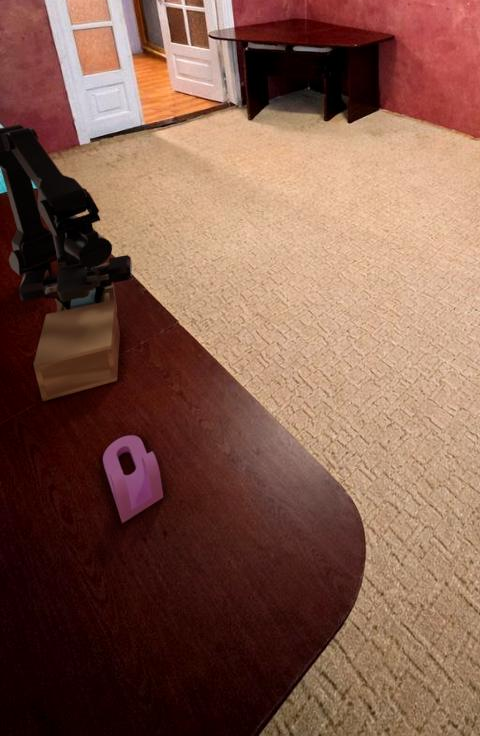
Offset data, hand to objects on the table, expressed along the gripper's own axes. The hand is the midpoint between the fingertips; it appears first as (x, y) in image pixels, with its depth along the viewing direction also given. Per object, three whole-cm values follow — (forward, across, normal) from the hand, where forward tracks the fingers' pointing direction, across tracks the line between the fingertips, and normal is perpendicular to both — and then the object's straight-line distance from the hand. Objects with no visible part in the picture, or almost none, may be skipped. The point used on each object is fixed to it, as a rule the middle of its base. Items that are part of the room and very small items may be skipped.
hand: (85, 310), depth 101 cm
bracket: (+5, +8, -38) cm, 39 cm away
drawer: (+4, 0, 0) cm, 4 cm away
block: (+1, 0, 0) cm, 1 cm away
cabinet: (+5, 0, -10) cm, 11 cm away
